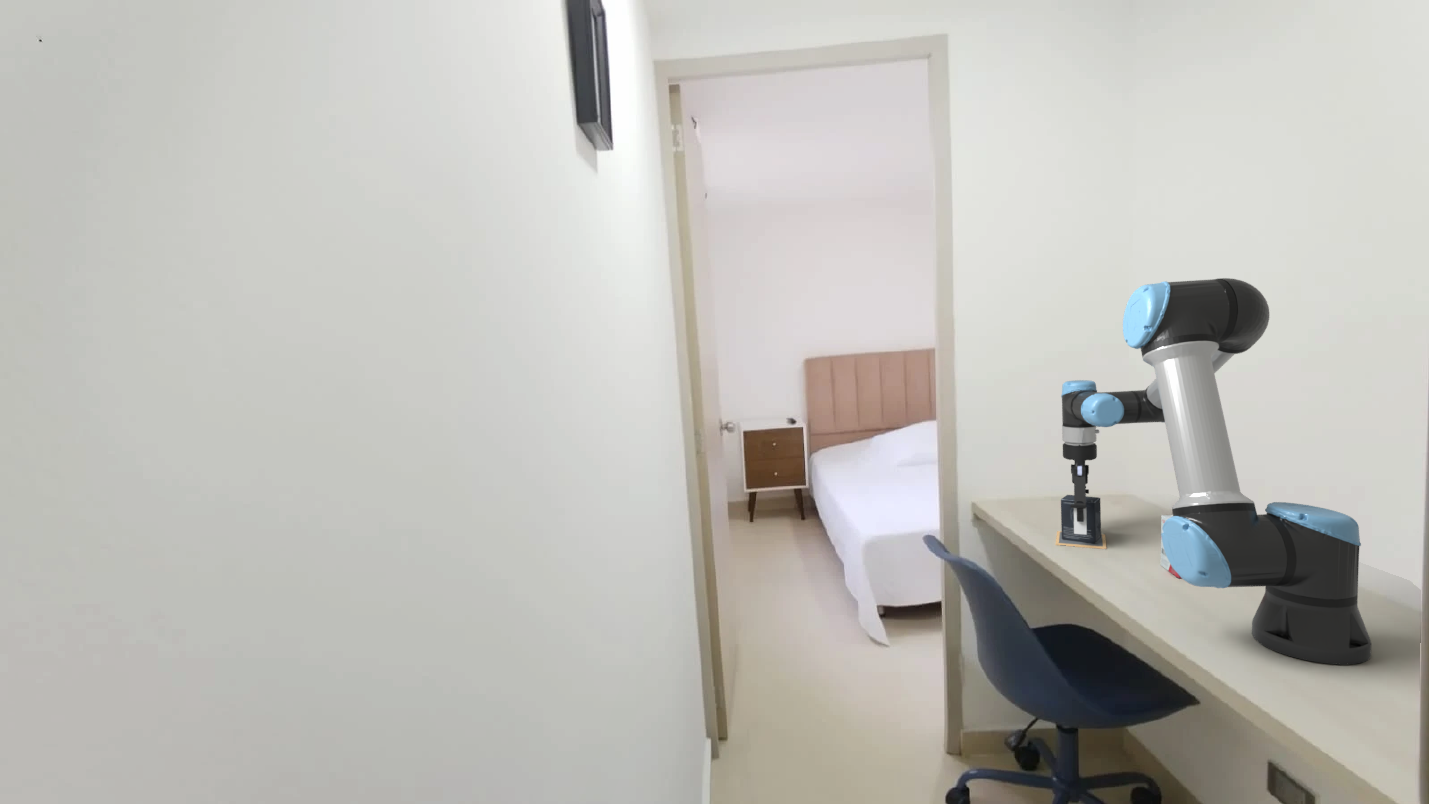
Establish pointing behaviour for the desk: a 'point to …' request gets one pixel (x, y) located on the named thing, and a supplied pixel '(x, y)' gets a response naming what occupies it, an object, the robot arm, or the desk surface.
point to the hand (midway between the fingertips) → (1080, 526)
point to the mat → (1100, 544)
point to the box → (1091, 517)
